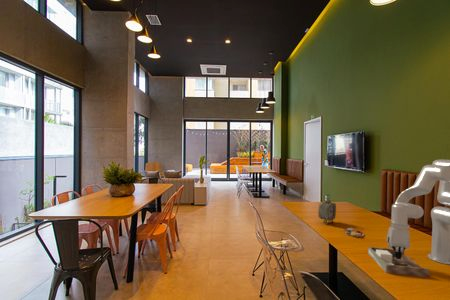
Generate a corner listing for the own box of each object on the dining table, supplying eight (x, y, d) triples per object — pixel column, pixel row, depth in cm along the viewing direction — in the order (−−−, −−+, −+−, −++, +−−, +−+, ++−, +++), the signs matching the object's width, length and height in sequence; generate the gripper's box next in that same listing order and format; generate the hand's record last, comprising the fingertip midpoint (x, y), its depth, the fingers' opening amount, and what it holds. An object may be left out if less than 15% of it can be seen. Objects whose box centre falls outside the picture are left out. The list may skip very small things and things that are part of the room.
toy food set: (358, 239, 177) (358, 234, 177) (340, 233, 188) (340, 229, 188) (366, 235, 185) (366, 231, 185) (349, 230, 196) (349, 226, 195)
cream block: (386, 257, 143) (387, 250, 143) (392, 262, 137) (392, 255, 137) (375, 256, 144) (375, 249, 144) (380, 260, 138) (380, 253, 138)
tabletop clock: (327, 226, 204) (328, 196, 204) (317, 223, 211) (318, 194, 210) (335, 222, 214) (336, 194, 213) (325, 220, 220) (326, 192, 220)
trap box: (403, 256, 149) (403, 250, 149) (428, 277, 126) (429, 269, 126) (367, 253, 153) (368, 246, 153) (386, 272, 129) (386, 265, 129)
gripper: (409, 225, 141) (408, 256, 141) (381, 223, 144) (380, 254, 144) (417, 229, 134) (416, 262, 134) (387, 227, 136) (386, 259, 137)
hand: (397, 258), depth 139 cm, fingers closed
